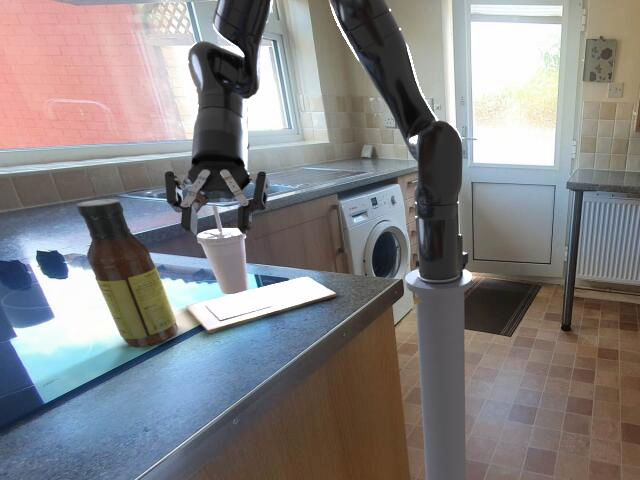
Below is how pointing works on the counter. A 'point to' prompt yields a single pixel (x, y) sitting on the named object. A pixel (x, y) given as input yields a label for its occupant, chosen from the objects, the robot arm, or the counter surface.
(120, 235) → the sauce bottle
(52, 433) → the counter surface
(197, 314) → the wooden board
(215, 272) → the smoothie
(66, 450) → the counter surface
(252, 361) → the counter surface
